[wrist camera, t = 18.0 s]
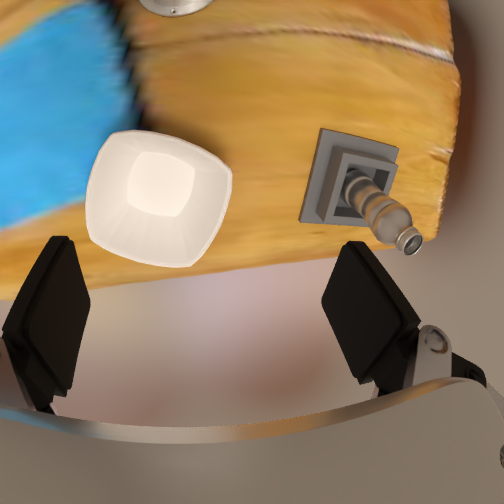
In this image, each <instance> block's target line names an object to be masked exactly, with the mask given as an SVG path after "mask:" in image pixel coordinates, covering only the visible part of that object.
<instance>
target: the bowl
mask: <svg viewBox="0 0 504 504" xmlns="http://www.w3.org/2000/svg"><path fill="white" fill-rule="evenodd" d="M231 192H232V170H231V169H230V168H229V167H228V166H227V165H226V164H225V163H224V162H223V161H221V160H220V159H219V158H218V157H217V156H215V155H214V154H212V153H210V152H208V151H207V150H205V149H203V148H201V147H199V146H197V145H195V144H192V143H190V142H188V141H185V140H183V139H180V138H178V137H174V136H170V135H166V134H161V133H157V132H152V131H142V130H128V131H120V132H115V133H112V134H111V135H110V136H109V137H108V139H107V140H106V142H105V143H104V144H103V146H102V147H101V149H100V150H99V152H98V155H97V157H96V160H95V162H94V165H93V167H92V170H91V174H90V177H89V181H88V185H87V191H86V203H85V211H86V225H87V229H88V232H89V236H90V239H91V240H92V241H93V242H95V243H96V244H98V245H99V246H101V247H102V248H104V249H105V250H108V251H110V252H112V253H114V254H117V255H119V256H122V257H125V258H128V259H131V260H134V261H137V262H141V263H146V264H151V265H156V266H164V267H173V268H174V267H190V266H192V265H193V264H194V263H195V262H196V261H197V260H198V259H199V258H200V257H201V256H202V255H203V254H204V253H205V251H206V250H207V248H208V247H209V245H210V244H211V242H212V241H213V239H214V237H215V236H216V234H217V232H218V230H219V228H220V227H221V224H222V221H223V219H224V216H225V213H226V211H227V207H228V203H229V200H230V196H231Z"/></svg>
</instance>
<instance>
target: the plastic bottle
mask: <svg viewBox="0 0 504 504" xmlns="http://www.w3.org/2000/svg"><path fill="white" fill-rule="evenodd" d="M340 197H341V199H342V200H343V201H344V202H345V203H346V204H347V205H349V206H350V207H352V208H354V209H355V210H356V211H357V212H358V213H359V214H360V215H361V216H362V217H363V218H364V220H365V221H366V222H367V224H368V225H369V227H370V229H371V230H372V232H373V234H374V236H375V237H376V238H377V240H378V241H380V242H381V243H383V244H385V245H392V246H395V245H396V248H397V249H398V250H400V251H401V252H402V253H403V254H404V255H405V256H412V255H414V254H415V253H416V252H418V250H419V249H420V248H421V246H422V244H423V240H424V239H423V236H422V234H420V233H419V232H418V230H417V229H416V228H415V227H413V222H412V217H411V214H410V212H409V210H408V209H407V208H406V207H405V206H404V205H402V204H401V203H399V202H397V201H396V200H394V199H392V198H391V197H389V196H388V195H386V194H385V193H384V192H382V191H381V190H380V189H379V188H378V186H377V185H376V184H375V183H374V182H373V180H372V179H371V178H370V177H369V175H368V174H366V173H364V172H362V171H359V170H352V171H349V172H347V173H346V175H345V179H344V182H343V186H342V189H341V192H340Z"/></svg>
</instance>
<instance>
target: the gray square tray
mask: <svg viewBox="0 0 504 504" xmlns="http://www.w3.org/2000/svg"><path fill="white" fill-rule="evenodd" d="M398 151H399V148H397V147H394V146H391V145H388V144H384V143H381V142H377V141H373V140H370V139H366V138H362V137H358V136H354V135H350V134H345V133H341V132H337V131H332V130H327V129H322V128H321V129H320V133H319V138H318V142H317V147H316V151H315V155H314V160H313V164H312V168H311V172H310V176H309V181H308V185H307V189H306V193H305V197H304V201H303V205H302V209H301V213H300V217H299V221H300V223H315V224H332V225H347V226H361V227H369V225H368V224H367V222H366V221H365V220H364V218H363V217H362V216H361V215H360V214H359V213H358V212H357V211H356V210H355V209H354V208H352V207H350V206H349V205H347V204H346V203H345V202H344V201H343V200H342V199H341V197H340V192H341V189H342V186H343V182H344V179H345V175H346V173H347V172H349V171H352V170H359V171H362V172H364V173H366V174H368V175H369V177H370V178H371V179H372V180H373V182H374V183H375V184H376V185H377V186H378V188H379V189H380V190H381V191H382V192H384V193H385V194H386V195H389V192H390V189H391V186H392V183H393V180H394V177H395V174H396V171H397V168H398V165H397V164H395V161H396V158H397V154H398Z"/></svg>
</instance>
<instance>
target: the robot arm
mask: <svg viewBox="0 0 504 504" xmlns="http://www.w3.org/2000/svg"><path fill="white" fill-rule="evenodd" d="M139 1H140V3H141V4H142V5H143V6H144V7H145V8H146V9H147V10H149V11H150V12H152V13H154V14H157V15H160V16H165V17H180V16H186V15H190V14H193V13H196V12H198V11H200V10H202V9H204V8H206V7H207V6H208V5H210V4H211V3H212V2H213V1H214V0H139ZM173 11H175V13H174V14H173V13H172V12H173ZM321 301H322V302H321V303H322V307H323V309H324V312H325V314H326V316H327V318H328V320H329V322H330V325H331V326H332V329H333V331H334V334H335V336H336V338H337V340H338V343H339V345H340V347H341V349H342V352H343V354H344V356H345V359H346V361H347V363H348V366H349V368H350V370H351V373H352V375H353V376H354V377H355V378H357V380H358V382H359V384H360V385H361V384H365V383H369V382H372V381H373V380H374V382H375V388H374V391H373V394H372V397H371V400H367V401H364V402H360V403H357V404H353V405H349V406H346V407H342V408H338V409H333V410H329V411H325V412H320V413H315V414H311V415H305V416H300V417H294V418H289V419H282V420H276V421H269V422H262V423H253V424H243V425H233V426H232V425H231V426H216V427H188V428H187V427H186V428H185V427H184V428H182V427H181V428H179V427H172V428H171V427H144V426H130V425H119V424H109V423H102V422H94V421H87V420H81V419H74V418H68V417H63V416H60V415H59V413H58V412H57V410H56V408H55V406H54V404H53V396H54V395H57V396H62V397H66V395H67V389H71V387H72V382H73V377H74V372H75V366H76V362H77V357H78V353H79V348H80V344H81V340H82V336H83V332H84V328H85V325H86V320H87V317H88V314H89V310H90V297H89V294H88V291H87V288H86V285H85V282H84V278H83V275H82V272H81V268H80V265H79V261H78V257H77V253H76V249H75V245H74V242H73V241H72V240H69V238H68V236H52V237H51V238H50V239H49V241H48V242H47V244H46V246H45V247H44V249H43V250H42V252H41V254H40V255H39V257H38V259H37V260H36V262H35V264H34V265H33V267H32V269H31V271H30V272H29V274H28V276H27V278H26V280H25V282H24V283H23V285H22V287H21V289H20V291H19V293H18V295H17V297H16V299H15V301H14V303H13V305H12V307H11V309H10V312H9V314H8V316H7V318H6V321H5V323H4V325H3V327H2V331H3V335H2V337H0V504H504V398H503V397H502V396H501V395H500V394H499V393H498V392H497V391H496V390H495V389H494V388H493V387H492V386H491V385H490V384H489V383H488V384H486V378H485V374H484V372H483V370H482V369H481V368H479V367H478V366H477V365H475V364H473V363H471V362H470V361H467V360H466V359H464V358H462V357H460V356H458V355H456V354H455V353H453V352H452V351H451V350H452V348H451V343H450V340H449V338H448V337H447V335H446V334H445V333H444V332H443V331H442V330H441V329H439V328H438V327H436V326H433V325H425V326H423V327H422V328H421V329H420V330H419V329H418V327H417V326H418V325H419V324H420V322H421V320H420V319H419V317H418V315H417V314H416V312H415V311H414V309H413V308H412V306H411V305H410V303H409V302H408V300H407V299H406V297H405V296H404V295H403V293H402V292H401V290H400V289H399V288H398V286H397V285H396V283H395V282H394V281H393V279H392V278H391V276H390V275H389V274H388V272H387V271H386V270H385V268H384V267H383V266H382V264H381V263H380V262H379V260H378V259H377V258H376V256H375V255H374V254H373V253H372V251H371V250H370V249H369V248H368V246H367V245H366V244H365V243H364V242H362V241H348V242H347V243H346V245H343V246H342V248H341V251H340V254H339V256H338V259H337V262H336V264H335V267H334V269H333V272H332V274H331V277H330V279H329V282H328V284H327V287H326V289H325V291H324V294H323V296H322V300H321Z"/></svg>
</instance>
